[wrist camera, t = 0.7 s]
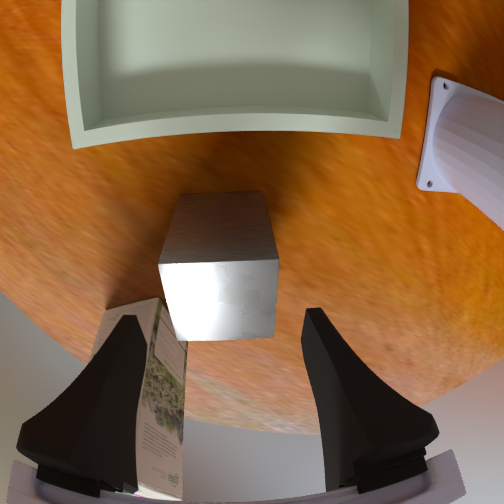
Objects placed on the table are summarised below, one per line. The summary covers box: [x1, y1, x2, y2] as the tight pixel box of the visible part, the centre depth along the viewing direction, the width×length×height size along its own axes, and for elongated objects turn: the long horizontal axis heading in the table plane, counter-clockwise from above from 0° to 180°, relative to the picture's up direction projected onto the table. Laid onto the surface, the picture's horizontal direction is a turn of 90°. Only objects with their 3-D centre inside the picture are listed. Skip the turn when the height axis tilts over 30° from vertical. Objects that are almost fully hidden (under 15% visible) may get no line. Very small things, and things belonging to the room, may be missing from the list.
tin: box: [158, 191, 279, 341], centre depth 17 cm, size 5×5×7 cm
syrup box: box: [88, 297, 188, 501], centre depth 18 cm, size 6×6×14 cm
